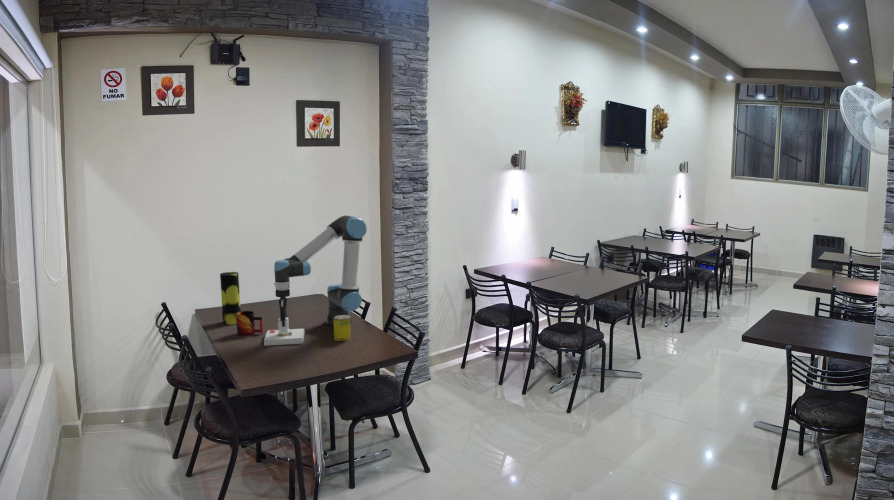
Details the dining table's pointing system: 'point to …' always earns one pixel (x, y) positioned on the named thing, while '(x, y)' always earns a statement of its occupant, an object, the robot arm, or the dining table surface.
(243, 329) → the mug
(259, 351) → the dining table surface
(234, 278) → the container
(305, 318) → the dining table surface
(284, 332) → the plug
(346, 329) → the yellow can
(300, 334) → the socket
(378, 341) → the dining table surface
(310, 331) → the dining table surface
